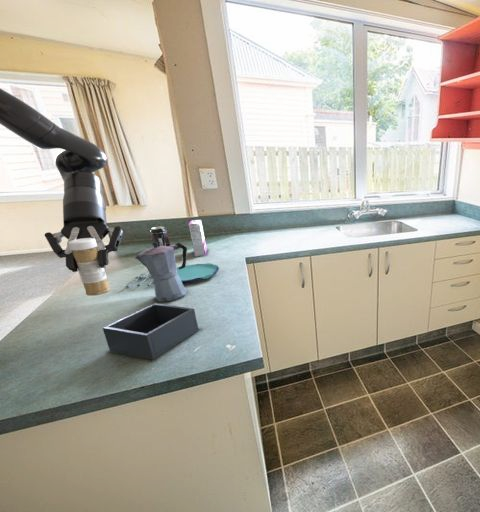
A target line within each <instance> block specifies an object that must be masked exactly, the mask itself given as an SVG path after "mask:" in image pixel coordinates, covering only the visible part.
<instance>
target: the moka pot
mask: <svg viewBox="0 0 480 512" xmlns="http://www.w3.org/2000/svg"><path fill="white" fill-rule="evenodd" d="M151 245H152V246H153V247H151V248H148V249H145V250H142V251H140V253H137V254H136V256H135V257H134V259H135V260H137V261H138V262H140V264H142V265H143V266H144V267H145V268H146V270H147V272H148V273H150V275H151V276H152V277H151V279H153V282H152V283H151V284H153V286H154V287H153V288H154V293H155V299H156V301H157V302H161V303H162V302H171V301H174V300H175V301H176V300H178V299H180V298H182V297H184V296H185V295H186V294H187V290H186V288H185V286H184V284H183V282H182V281H181V279H180V277H179V276H178V274H177V267H178V269H179V270H180V269H183V268H185V265H186V264H187V252H188V247H187V246H185V245H184V244H182V243H181V242H177V243H174V244H170V246H161V247H158V243H156V242H154V243H153V242H152V243H151ZM179 249H182V263H181V266H177V263H176V262H177V261H176V256H175V251H177V250H179Z"/></svg>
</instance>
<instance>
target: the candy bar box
mask: <svg viewBox="0 0 480 512" xmlns="http://www.w3.org/2000/svg"><path fill="white" fill-rule="evenodd" d="M187 225H188V226H187V227H188V230H189V235H190V239H191V240H190V241H191V245H192V249H193V253H194V257H203V256H206V255H207V251H208V248H207V242H206V237H205V231H204V227H203V223H202V219H193V220H190V221H189V223H188V224H187Z"/></svg>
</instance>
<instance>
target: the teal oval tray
mask: <svg viewBox="0 0 480 512" xmlns="http://www.w3.org/2000/svg"><path fill="white" fill-rule="evenodd" d="M178 267H179V266H176V268H177V274H178V276H179V277H180V279H181V281H182V283H187V282H194V281H198V280H203V279H204V280H207V279H209V278H212V277H213V276H214V275H215V274H217V272H218V271H219V270H220V266H218V264H215V263H210V262H208V263H197V264H187V265H185V268H183V269H180V270H179V269H178ZM143 277H144V279H142V278H143ZM150 278H151V281H150V282H149V283H148V284H147V285H146V286H147V287H150V286H151V284H153V283H152V282H153V278H152V276H151V275H150V273H149V272H148V273H140V274H139V275H138V276H137V275H136V276H135V277H134V279H133V280H132V281H131V282H130V283H128V284H127V285H126V286H125V288H126V289H130V287H131V286H132V285H134V284H135V283H136V282H137V281H139V280H141V279H142V280H141V281H139V282H138V283H137V284H136V286H137V287H141V285H143V284H144V283H145V281H147V280H148V279H150Z"/></svg>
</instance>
